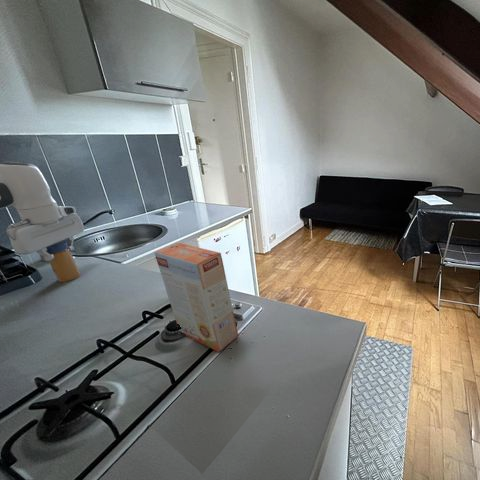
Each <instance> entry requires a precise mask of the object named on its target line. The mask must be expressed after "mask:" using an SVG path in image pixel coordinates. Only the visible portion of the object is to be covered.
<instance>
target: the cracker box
mask: <svg viewBox="0 0 480 480" xmlns="http://www.w3.org/2000/svg"><path fill="white" fill-rule="evenodd" d="M154 256H155V260H156V263H157V265H158V268H159V272H160V275H161V278H162V281H163V284H164V288H165V291H166V294H167V298H168V301H169V304H170V307H171V310H172V314H173V316H174V320H175V323H176V325H177V324H179V325H180V327H181V328H182V331H183V332H184V333H185V335H184V336H186V337H188V338H190V339H191V340H194V341H196V342H198V343H200V345H203V346H206V347H207V348H209V349H211V350H213V351H215V352H217V353H220V352H222V351H223V350H224V349H225V348H226V347H227V346H228V345H230V344H231V343H232V342H233V341H234V340H236V339H237V338H238V337H239V333H238V328H237V323H236V318H235V313H234V309H233V305H232V304H233V303H232V300H231V295H230V290H229V286H228V280H227V276H226V271H225V267H224V261H223V257H222V253H221V252H220V251H214V250H211V249H207V248H202V247H198V246H193V245H189V244H186V243H183V242H177V243H172V244H170V245H169V246H166V247H163V248H160V249H158V250H155V251H154Z"/></svg>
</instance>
